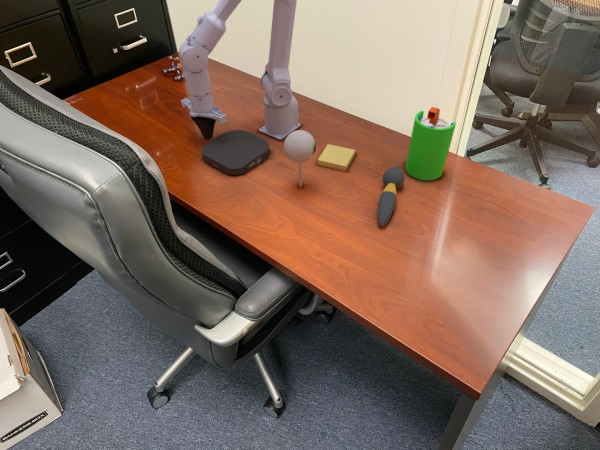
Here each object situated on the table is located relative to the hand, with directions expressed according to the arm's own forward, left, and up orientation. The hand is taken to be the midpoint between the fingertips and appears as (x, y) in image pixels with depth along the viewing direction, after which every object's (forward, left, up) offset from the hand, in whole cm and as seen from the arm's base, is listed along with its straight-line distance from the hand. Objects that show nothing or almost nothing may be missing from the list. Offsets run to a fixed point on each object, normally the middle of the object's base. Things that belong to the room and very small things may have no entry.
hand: (208, 138), depth 119 cm
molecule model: (-21, -38, -2) cm, 43 cm away
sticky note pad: (-14, +32, -1) cm, 35 cm away
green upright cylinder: (-23, +52, -2) cm, 57 cm away
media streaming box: (0, +10, -2) cm, 10 cm away
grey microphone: (-8, +51, -2) cm, 52 cm away
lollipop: (0, +31, -2) cm, 31 cm away
